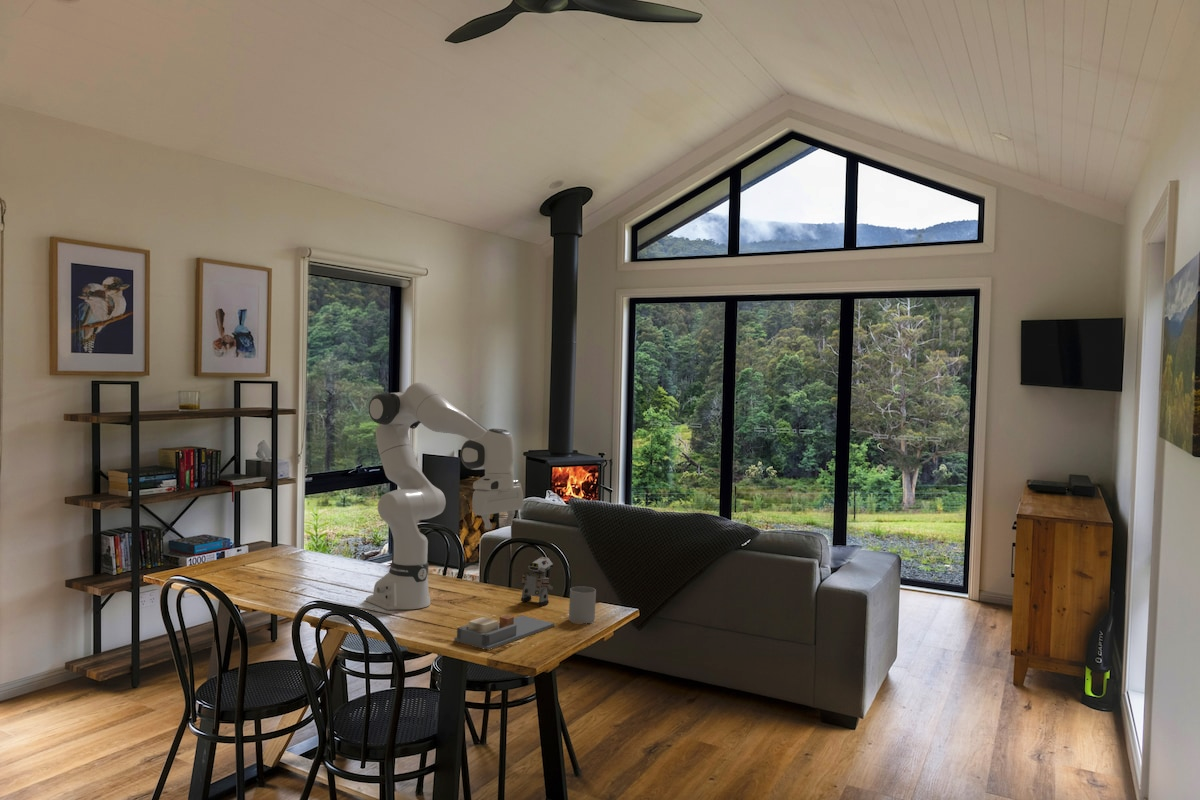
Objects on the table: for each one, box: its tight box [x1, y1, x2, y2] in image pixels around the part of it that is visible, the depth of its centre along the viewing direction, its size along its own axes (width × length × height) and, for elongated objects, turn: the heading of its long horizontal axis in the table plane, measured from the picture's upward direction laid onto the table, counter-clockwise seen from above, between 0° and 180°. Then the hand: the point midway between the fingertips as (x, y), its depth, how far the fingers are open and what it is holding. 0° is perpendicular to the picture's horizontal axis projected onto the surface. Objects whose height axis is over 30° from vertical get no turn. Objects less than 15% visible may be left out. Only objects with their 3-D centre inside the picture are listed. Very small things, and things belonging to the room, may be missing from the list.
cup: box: [568, 585, 597, 625], centre depth 264 cm, size 8×8×10 cm
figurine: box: [520, 556, 554, 607], centre depth 284 cm, size 9×12×15 cm
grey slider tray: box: [453, 615, 555, 651], centre depth 246 cm, size 13×31×4 cm, turn 146°
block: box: [468, 614, 515, 633], centre depth 241 cm, size 6×15×5 cm, turn 146°
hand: (498, 527), depth 250 cm, fingers open, 8 cm apart
